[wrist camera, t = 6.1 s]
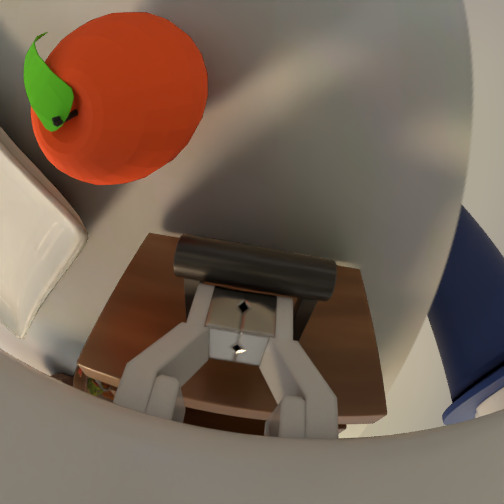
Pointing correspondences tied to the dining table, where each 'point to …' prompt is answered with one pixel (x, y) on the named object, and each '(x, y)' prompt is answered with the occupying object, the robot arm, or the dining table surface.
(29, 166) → the square plate
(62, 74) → the clementine
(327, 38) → the dining table surface
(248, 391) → the drawer
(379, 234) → the dining table surface
